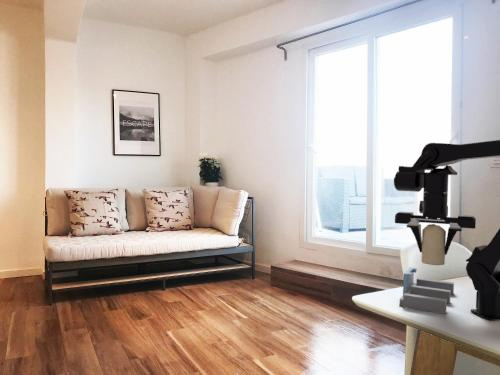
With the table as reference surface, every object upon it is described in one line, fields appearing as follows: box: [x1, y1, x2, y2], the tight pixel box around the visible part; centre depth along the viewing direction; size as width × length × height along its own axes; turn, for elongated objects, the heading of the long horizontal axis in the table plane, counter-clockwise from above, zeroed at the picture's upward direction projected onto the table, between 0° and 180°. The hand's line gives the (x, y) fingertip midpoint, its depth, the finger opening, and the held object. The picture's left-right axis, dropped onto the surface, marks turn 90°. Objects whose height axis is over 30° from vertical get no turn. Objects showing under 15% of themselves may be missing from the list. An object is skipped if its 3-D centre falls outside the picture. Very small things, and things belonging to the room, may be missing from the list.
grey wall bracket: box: [399, 266, 455, 315], centre depth 113 cm, size 22×12×6 cm, turn 150°
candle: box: [420, 223, 447, 266], centre depth 110 cm, size 6×6×10 cm
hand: (433, 253), depth 110 cm, fingers closed on candle, 5 cm apart
